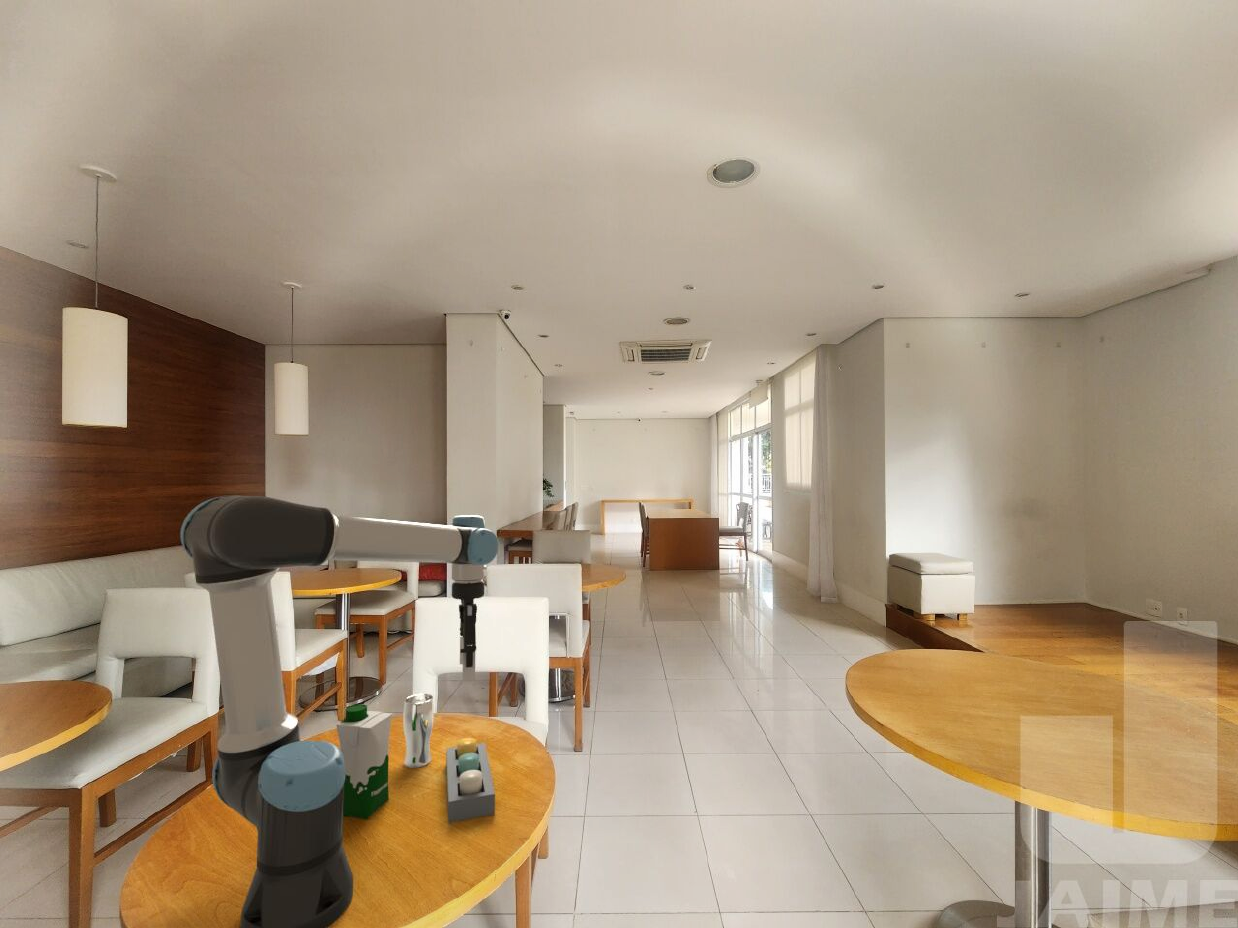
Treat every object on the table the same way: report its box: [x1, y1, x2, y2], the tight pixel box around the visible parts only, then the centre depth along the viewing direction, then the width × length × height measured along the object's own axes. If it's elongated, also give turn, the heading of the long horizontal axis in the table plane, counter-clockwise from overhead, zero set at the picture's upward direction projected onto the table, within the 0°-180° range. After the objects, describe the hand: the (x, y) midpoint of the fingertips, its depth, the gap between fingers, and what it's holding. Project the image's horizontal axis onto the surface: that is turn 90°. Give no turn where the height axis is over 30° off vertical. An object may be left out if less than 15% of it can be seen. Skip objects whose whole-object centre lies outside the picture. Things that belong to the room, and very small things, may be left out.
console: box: [445, 742, 496, 824], centre depth 120 cm, size 24×9×4 cm, turn 18°
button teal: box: [458, 753, 479, 776], centre depth 121 cm, size 4×4×3 cm
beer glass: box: [402, 693, 435, 769], centre depth 132 cm, size 7×7×15 cm
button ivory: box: [460, 770, 482, 796], centre depth 113 cm, size 4×4×3 cm
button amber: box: [456, 737, 478, 759], centre depth 128 cm, size 4×4×3 cm
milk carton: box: [336, 703, 393, 820], centre depth 113 cm, size 9×9×20 cm
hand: (467, 671), depth 129 cm, fingers open, 12 cm apart
